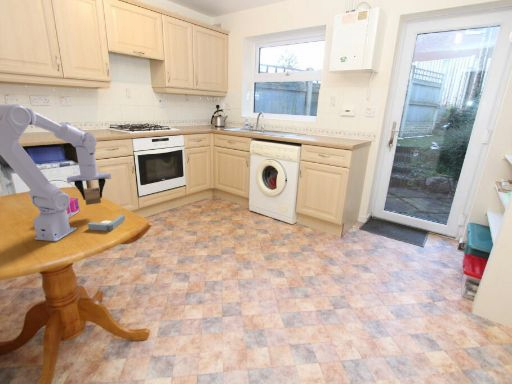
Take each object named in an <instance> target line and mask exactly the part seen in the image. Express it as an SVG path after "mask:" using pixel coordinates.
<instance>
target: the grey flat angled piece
mask: <svg viewBox="0 0 512 384" xmlns="http://www.w3.org/2000/svg"><path fill="white" fill-rule="evenodd" d="M124 220H125V221H126V216H125V215H124V214H119V216H117V217H116V218H115V219H113V220H102V221H101V222H93V221H90V222H89V223H87V228H88V230H92V231H105V232H112V231H113V230H114V229H116V228H117V227H119V225H121V224H123V223H124V222H125V221H124ZM123 221H124V222H123Z"/></svg>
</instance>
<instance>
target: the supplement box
mask: <svg viewBox="0 0 512 384" xmlns="http://www.w3.org/2000/svg"><path fill="white" fill-rule="evenodd" d="M69 198H70V197H69ZM66 210H67V215H68V220H69V219H70V218H72V217H73V216H75V215H76V214H78V213H79V212H80V211H81V210H80V206H79V198H72V197H71V198H70V203H69V206H68V207H67V209H66Z"/></svg>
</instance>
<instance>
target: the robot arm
mask: <svg viewBox="0 0 512 384" xmlns="http://www.w3.org/2000/svg"><path fill="white" fill-rule="evenodd" d="M29 126H34V127H38V128H40V129H43V130H46V131H49V132H51V133H53V135H54V138H57V139H59V140H61V141H64V142H66V143H69V144H71V145H72V146H73V147H74V148H75V150H76V156H77V162H78V169H79V173H80V174H79V175H73V176H72V175H71V176H67V177H66V182H67V184H71V183H74V186H75V187H76V188H77V190H78V191H79V193H80V194H81V197H82V199H83V201H85V195H84V189H85V188H84V182H87V181H97V182H98V187H99V192H100V198H101V199H102V198H103V191H104V186H105V184H106V182H107V181H106V180H111V179H112V175H111V173H110V172H109V173H108V172H107V173H106V172H105V173H99V172H98V167H97V160H96V153H95V152H96V151H97V150H96V146H97V143H98V139H96V137H95V136H94V134H93V133H91V132H87V131H86V132H85V131H83V129H82V128H77V127H74V126H73V125H72V123H71V122H67V121H64V122H59V123H58V122H56V121H53V120H52V119H50V118H49V117H46V116H44V115H42V114H41V113H38V112H36V111H35V110H33V109H31V108H28V107H25V106H23V105H21V104H7V103H5V104H4V103H0V156H1V158H3V160H4V161H5V162H6V163H7V164H8V165H9V167H10V168H11V169H12V170H13V171H14V172H15V173H16V175H17V176H18V177H19V178H20V180H22V182H24V184H25V186H27V187H28V189H29V191H28V192H27V194H28V195H29V197H30V198H31V203H32V204H33V206H35V207H37V208H38V211H39V214H38V215H37V216H36V217H34V219H33V222H32V223H33V227H34V232H35V236H36V237H34V239H35V240H37V241H46V242H47V241H50V242H57V241H60V240H61V239H63V238H64V237H66V236H68V235H69V234H71V233H73V232H74V231H77V227H72V226H70V221H69V219H68V215H67V210H66V209H67V207H68V206H69V203H70V196H69V194H68V193H66V192H64V191H62V190H61V189H60V188H59V186H56V185H55V184H53V183H51V181H49V179H48V178H47V177H46V176H45V174H44V173H43V172H42V170H41V169H40V167H38V165H37V164H36V162H34V159H32V158H31V156H30V155H29V154H28V153H27V151H26V150H25V149H24V147H23V146H22V145H21V144H20V142H19V139H20V138H21V136H22V135H23V134H24V132H25V131H26V129H28V127H29Z"/></svg>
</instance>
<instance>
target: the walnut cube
mask: <svg viewBox="0 0 512 384" xmlns="http://www.w3.org/2000/svg"><path fill="white" fill-rule="evenodd" d="M84 195H85V200H84V201H85V205H86V206H90V205H96V204H101V202H102V200H101V199H102V198H100V190H99V186H98V187H90V188H84Z"/></svg>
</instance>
